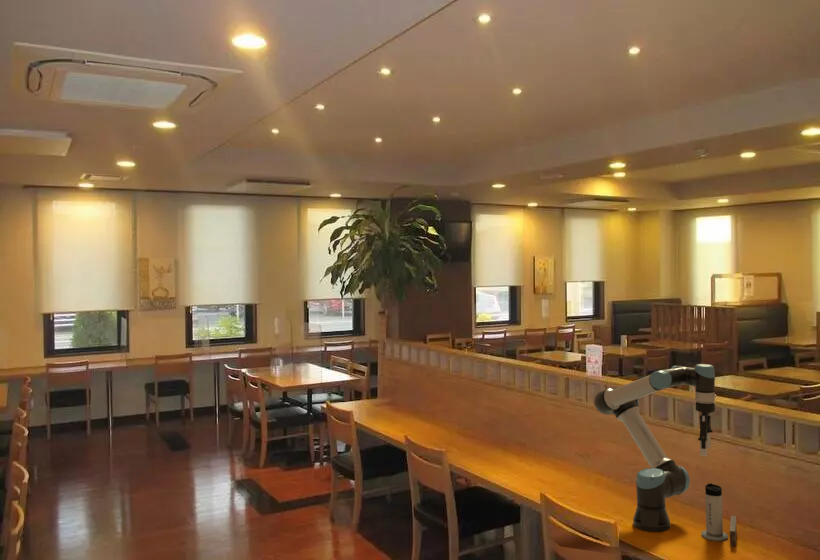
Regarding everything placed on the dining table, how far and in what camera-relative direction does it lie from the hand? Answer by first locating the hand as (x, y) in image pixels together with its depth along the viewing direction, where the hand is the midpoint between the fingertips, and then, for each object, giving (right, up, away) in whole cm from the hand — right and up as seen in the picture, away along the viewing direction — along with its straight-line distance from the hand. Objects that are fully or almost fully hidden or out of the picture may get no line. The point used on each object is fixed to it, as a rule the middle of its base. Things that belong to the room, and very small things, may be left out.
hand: (705, 452), depth 290 cm
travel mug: (+1, -33, -5) cm, 33 cm away
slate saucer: (+1, -33, -5) cm, 34 cm away
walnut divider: (+8, -33, -8) cm, 35 cm away
